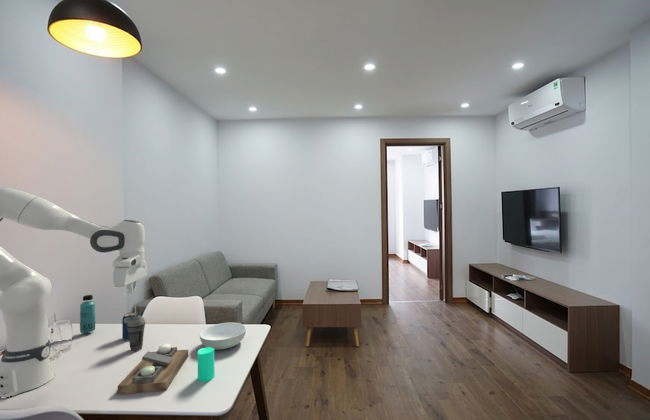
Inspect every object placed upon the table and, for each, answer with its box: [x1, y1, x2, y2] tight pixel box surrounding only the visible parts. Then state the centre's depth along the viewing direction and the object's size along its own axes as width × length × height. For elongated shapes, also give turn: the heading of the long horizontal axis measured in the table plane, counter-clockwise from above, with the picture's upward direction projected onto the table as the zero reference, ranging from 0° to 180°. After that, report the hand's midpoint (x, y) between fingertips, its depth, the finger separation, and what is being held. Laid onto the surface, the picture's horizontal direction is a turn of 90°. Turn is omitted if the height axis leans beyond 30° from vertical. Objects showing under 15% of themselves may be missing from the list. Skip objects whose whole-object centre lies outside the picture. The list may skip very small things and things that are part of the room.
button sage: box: [141, 366, 155, 376], centre depth 110 cm, size 4×4×2 cm
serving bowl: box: [199, 322, 247, 350], centre depth 142 cm, size 21×21×7 cm
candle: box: [197, 347, 215, 383], centre depth 114 cm, size 6×6×12 cm
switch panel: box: [117, 346, 189, 395], centre depth 117 cm, size 16×25×5 cm, turn 8°
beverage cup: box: [127, 305, 146, 353], centre depth 138 cm, size 7×7×20 cm
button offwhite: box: [158, 342, 172, 354], centre depth 125 cm, size 4×4×2 cm
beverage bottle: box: [79, 294, 97, 334], centre depth 156 cm, size 6×7×20 cm
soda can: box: [121, 311, 139, 341], centre depth 150 cm, size 7×7×12 cm
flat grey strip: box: [141, 351, 173, 366], centre depth 118 cm, size 10×4×1 cm, turn 98°
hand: (131, 292), depth 123 cm, fingers closed
